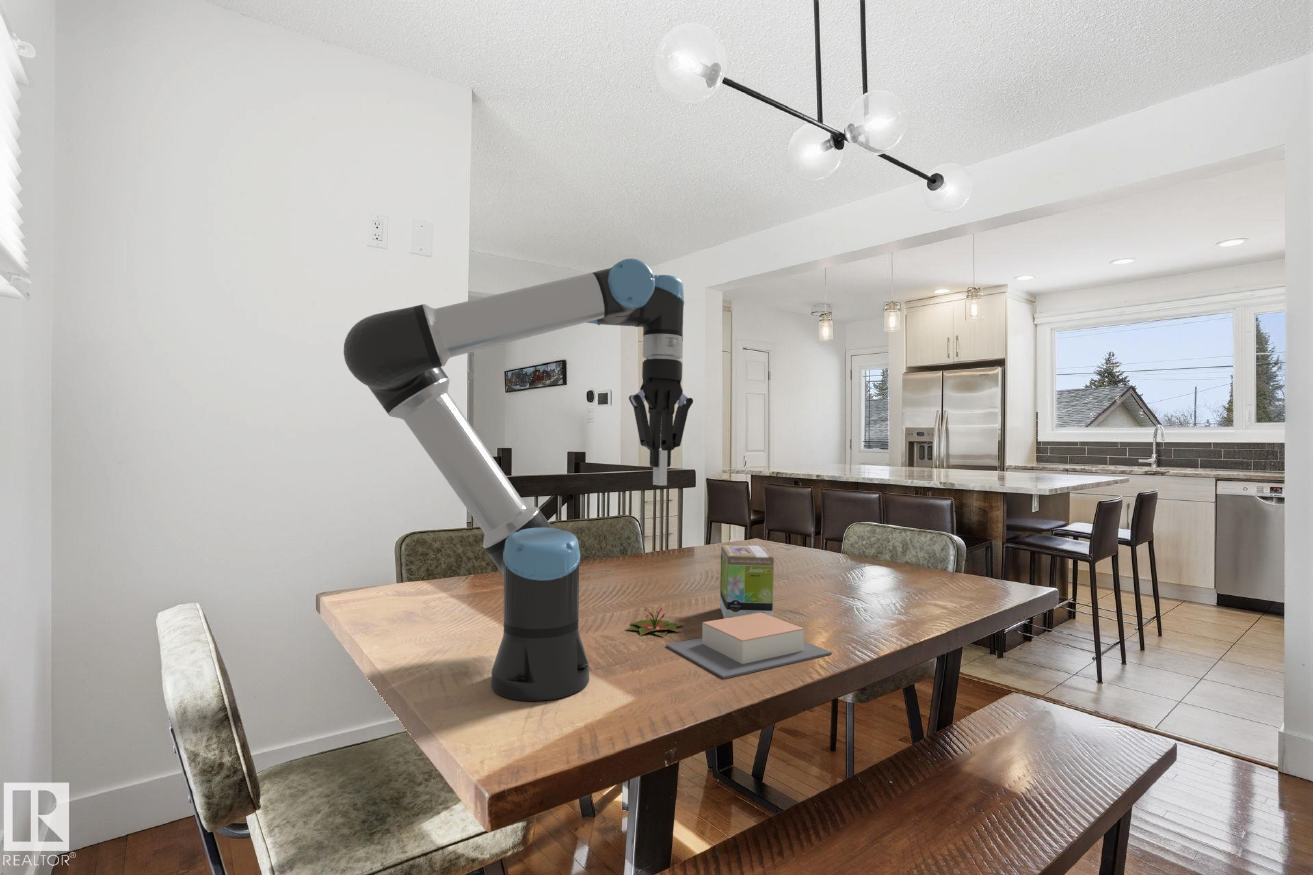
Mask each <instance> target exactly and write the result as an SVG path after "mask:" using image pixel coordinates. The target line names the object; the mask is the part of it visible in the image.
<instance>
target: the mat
mask: <svg viewBox="0 0 1313 875" xmlns="http://www.w3.org/2000/svg"><path fill="white" fill-rule="evenodd" d="M665 647H666V648H667V649H670V650H671V651H672V652H675V653H677V654H678V655H681V656H682V657H683V658H685V659H688V660H689V661H691V662H693V663H695V664H696V665H698V666H700V667H701V668H703V669H705V670H707V671H709V672H711V674H712V673H713V674H714V675H715V676H718V677H720V678H721V679H722V680H725V679H730V678H735V677H739V676H743V675H749V674H751V673H755V672H760V671H764V670H765V671H766V670H769V669H773V668H779V667H782V666H786V665H791V664H795V663H799V662H805V661H809V660H812V659H813V660H814V659H818V658H821V657H825V656H830V655H833V652H832V651H830V650H827V649H825V648H822V647H820V646H818V645H816V644H812V643H810V642H807V641H805V640H804V651H800V652H795V653H791V654H786V655H782V656H777V657H773V658H768V659H763V660H759V661H754V662H750V663H745V664H741V663H739V662H737V661H735V660H733V659H731V658H729V657H727V656H725V655H723V654H721V653H720V652H718V651H716V650H714V649H712V648H710V647H708V646H706V645H704V644H702V637H698V638H693V639H688V640H681V641H677V642H672V643H666V644H665Z"/></svg>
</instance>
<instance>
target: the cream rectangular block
mask: <svg viewBox="0 0 1313 875" xmlns="http://www.w3.org/2000/svg"><path fill="white" fill-rule="evenodd" d="M701 626H702V633H701V634H702V636H701V638H702V644H704V645H706V646H708V647H710V648H712V649H714V650H716V651H718V652H720V653H721V654H723V655H725V656H727V657H729V658H731V659H733V660H735V661H737V662H739V663H741V664H745V663H750V662H754V661H759V660H763V659H768V658H773V657H777V656H782V655H786V654H791V653H795V652H800V651H804V641H805V628H804V627H801V626H799V625H796V624H792V623H790V622H787V621H785V620H782V619H779V618H778V617H775V616H773V617H772V616H769V615H767V614H764V613H755V614H749V615H743V616H737V617H731V618H725V619H724V618H721V619H713V620H707V621H702V624H701Z"/></svg>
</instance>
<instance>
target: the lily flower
mask: <svg viewBox="0 0 1313 875" xmlns="http://www.w3.org/2000/svg"><path fill="white" fill-rule="evenodd" d="M658 609H659V607H657V608H656V612H655V613H654V610H652V611H650V610H649V609H648V607H644V610H643V611H645V612H647V613H648V614H647V613H646V615H644V616H645V619H644V620H643V619H642V620H641V619H640V620H637V621H634V622H630V623H629V624H630V625H632V626H630V627H628V628H625V629H624V630H625V631H637V632H639V636H640V637H641V636H643V635H645V634H647V633H650V634H654V635H656V636H659V637H662V638H664V637H665V636H666V635H667V633H668V631H667V630H669V631H673V632H676V633H680V634H681V632H680V631H679V630H678V629H677V627H682V626H684V624H680V623H679V624H678V623H676V622H675V623H674V622H670V621H669V620H665V619H663V618H665V615H666V613H663V614H662V615H661V617H660V618H659V615H660V614H661V612H662V610H663V608H660V609H659V611H658ZM650 616H651V617H650ZM658 618H659V619H658ZM657 627H658V628H659V630H660V631H661V632H660V633H658V632H657V633H656V632H655V631H656V630H657ZM650 628H653V629H652V630H651V629H650Z"/></svg>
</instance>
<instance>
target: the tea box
mask: <svg viewBox="0 0 1313 875" xmlns="http://www.w3.org/2000/svg"><path fill="white" fill-rule="evenodd" d="M774 570H775V558H774V556H773V554H771V553H770V552H769V551H768V550H767V549H766V547H764V546H763V545H732V544H730V545H728V544H724V545H723V544H722V545H721V549H720V582H719V583H720V588H719V590H720V591H719V596H720V598H719V609H720V610H721V613H722V614H721V615H722V618H723V619H725V618H731V617H737V616H743V615H749V614H755V613H764V614H767V615H769V616H772V617H774V608H773V607H774V573H775V571H774Z"/></svg>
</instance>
